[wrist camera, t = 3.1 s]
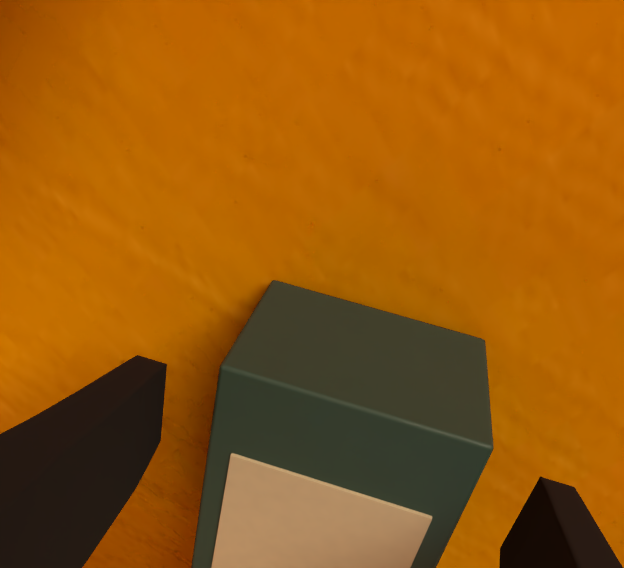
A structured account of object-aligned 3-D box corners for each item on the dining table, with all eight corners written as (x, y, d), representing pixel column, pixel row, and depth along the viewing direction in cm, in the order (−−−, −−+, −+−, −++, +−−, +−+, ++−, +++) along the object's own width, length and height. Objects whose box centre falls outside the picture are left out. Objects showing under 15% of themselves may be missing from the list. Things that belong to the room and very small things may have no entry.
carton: (272, 277, 13) (216, 367, 10) (486, 338, 13) (496, 452, 10) (227, 527, 18) (178, 642, 15) (384, 580, 17) (368, 710, 14)
